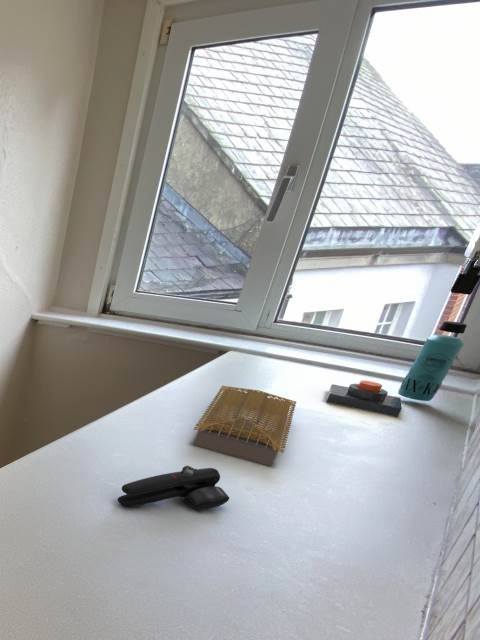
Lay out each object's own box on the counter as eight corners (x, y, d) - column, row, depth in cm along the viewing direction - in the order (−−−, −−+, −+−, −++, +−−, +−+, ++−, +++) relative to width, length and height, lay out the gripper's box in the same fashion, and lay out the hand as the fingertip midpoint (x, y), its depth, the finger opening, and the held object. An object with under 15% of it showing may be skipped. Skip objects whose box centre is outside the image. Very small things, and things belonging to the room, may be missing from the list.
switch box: (396, 406, 133) (404, 390, 131) (397, 417, 126) (406, 401, 124) (328, 392, 140) (335, 377, 138) (326, 401, 133) (333, 386, 132)
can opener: (198, 488, 92) (209, 458, 90) (231, 510, 86) (244, 479, 83) (103, 493, 89) (112, 463, 87) (130, 517, 83) (140, 485, 81)
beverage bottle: (389, 395, 140) (430, 317, 131) (423, 400, 137) (467, 321, 128) (399, 403, 134) (443, 322, 125) (434, 409, 132) (481, 327, 123)
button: (378, 390, 132) (382, 383, 131) (378, 394, 129) (382, 387, 128) (357, 386, 134) (360, 379, 133) (356, 390, 131) (360, 383, 130)
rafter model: (276, 469, 99) (289, 439, 97) (187, 444, 108) (197, 416, 105) (290, 416, 124) (301, 390, 121) (217, 399, 132) (226, 375, 129)
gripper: (544, 203, 104) (489, 300, 113) (529, 202, 115) (479, 292, 123) (488, 200, 109) (439, 294, 117) (478, 200, 119) (433, 286, 127)
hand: (460, 293), depth 120 cm, fingers closed
